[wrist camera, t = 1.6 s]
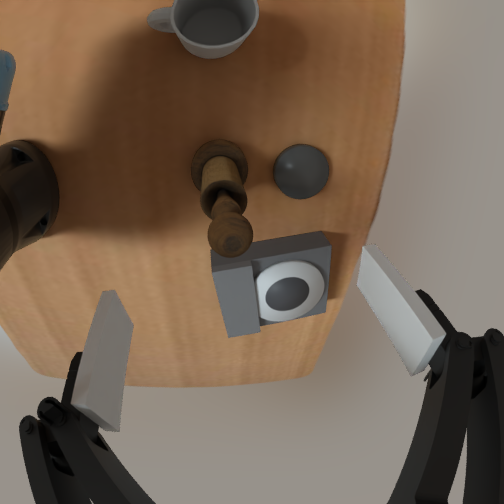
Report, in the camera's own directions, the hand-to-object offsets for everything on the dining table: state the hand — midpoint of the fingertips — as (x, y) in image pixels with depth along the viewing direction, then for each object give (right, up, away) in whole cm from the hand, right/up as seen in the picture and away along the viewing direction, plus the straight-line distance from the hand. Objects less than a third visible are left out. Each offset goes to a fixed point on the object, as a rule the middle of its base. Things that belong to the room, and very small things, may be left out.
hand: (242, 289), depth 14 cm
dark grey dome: (+7, +12, +20) cm, 24 cm away
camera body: (+3, -2, +29) cm, 29 cm away
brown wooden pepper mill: (-4, +12, +18) cm, 22 cm away
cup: (-5, +26, +9) cm, 28 cm away
